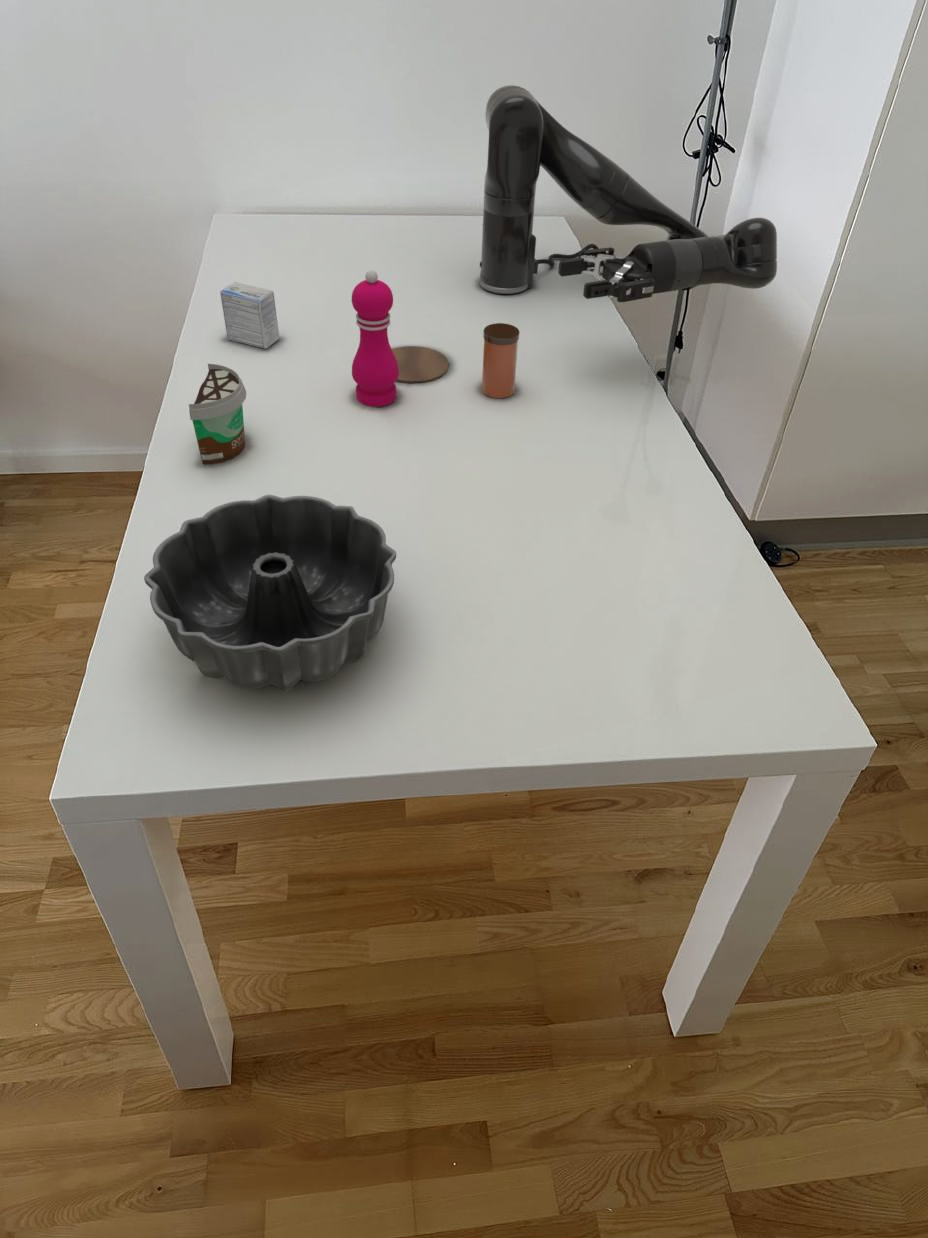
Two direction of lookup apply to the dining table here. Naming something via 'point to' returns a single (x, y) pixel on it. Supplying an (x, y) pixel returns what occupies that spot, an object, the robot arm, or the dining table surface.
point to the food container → (219, 415)
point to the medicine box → (250, 315)
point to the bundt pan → (273, 589)
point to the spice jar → (499, 360)
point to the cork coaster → (419, 364)
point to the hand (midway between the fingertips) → (571, 279)
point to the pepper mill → (374, 343)
